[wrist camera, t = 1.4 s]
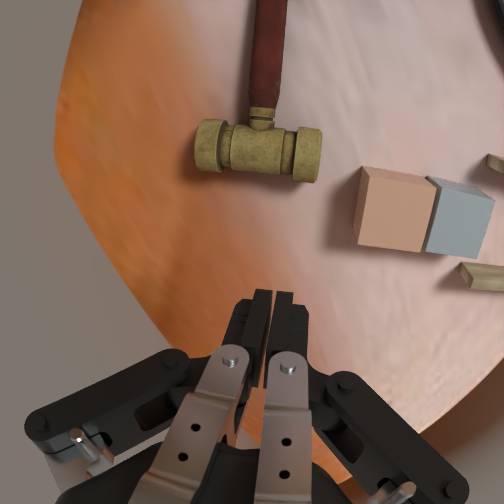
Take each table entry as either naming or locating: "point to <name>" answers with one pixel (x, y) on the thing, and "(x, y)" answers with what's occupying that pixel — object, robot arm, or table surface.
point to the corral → (482, 273)
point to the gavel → (261, 115)
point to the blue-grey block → (457, 219)
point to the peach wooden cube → (392, 209)
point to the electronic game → (500, 10)
